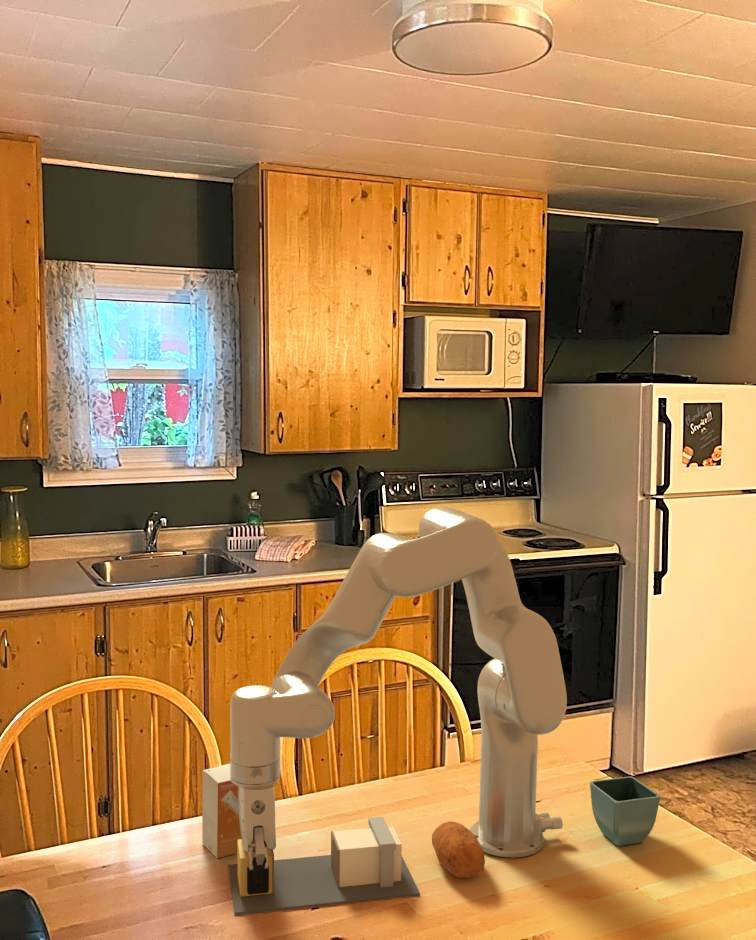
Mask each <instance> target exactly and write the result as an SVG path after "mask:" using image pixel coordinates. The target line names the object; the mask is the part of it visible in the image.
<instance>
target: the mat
mask: <svg viewBox="0 0 756 940" xmlns="http://www.w3.org/2000/svg"><path fill="white" fill-rule="evenodd" d="M228 875H229V880H230V889H231V897H232V904H233V907H232V908H233V913H234V916H242V915H248V914H251V915H252V914H258V913H270V912H278V911H288V910H297V909H305V908H307V909H308V908H315V907H324V906H325V907H327V906H334V905H343V904H353V903H362V902H373V901H381V900H391V899H400V898H408V897H420V896H421V893H420V890H419V888H418V886H417V884H416V882H415V880H414V878H413V875H412V874H411V871H410V870H409V867H408V865H407V864H406V861H405V860H404V857H403V854H401V881H394V886H390V887H381V886H380V884H379V883H374V884H365V885H355V886H345V887H337V884H336V881H335V878H334V875H333V872H332V869H331V854H326V855H325V854H324V855H317V856H316V855H315V856H306V857H305V856H304V857H295V858H284V859H274V894H272V893H271V894H261V895H251V896H241V897H240V890H239V884H238V877H237V863H233V864H232V863H231V864H228Z"/></svg>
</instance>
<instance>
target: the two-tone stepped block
mask: <svg viewBox="0 0 756 940" xmlns="http://www.w3.org/2000/svg"><path fill="white" fill-rule="evenodd" d="M367 822H368V823H367V824H368V826H369V828H367V827H366V828H357V829H356V828H355V829H347V830H346V829H344V830H331V831H330V838H331V839H330V855H331V869H332V872H333V875H334V878H335V881H336V884H337V887H345V886H355V885H365V884H374V883H379V884H380V886H381V887H390V886H394V881H401V855H402V848H403V847H402V842H401V840H400V838H399V836H398V834H397V832H396V830H395V828H394V826H393V825H390V826H388V824H387V822H386V820H385V818H384V816H377V817H376V816H375V817H368V821H367Z"/></svg>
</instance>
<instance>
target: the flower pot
mask: <svg viewBox="0 0 756 940" xmlns="http://www.w3.org/2000/svg"><path fill="white" fill-rule="evenodd" d="M589 787H590V789H589V790H590V799H591V802H590V803H591V809H592V813H593V818H594V821H595V822H596V824H597V826H598V828H599V830H600V832H601V834H602V835H604V836H605V838H607V839H608V840H609V841H611V842H612V843H613V844H614V845H616V846H618V847H621V846H626V845H634V844H641V843H642V842H644V841H645V840H646V839H647V837H648V836H649V835H650V834H651V832H652V830H653V828H654V826H655V823H656V819H657V815H658V810H659V805H660V800H661V795H659V793H656V792H655V791H654V790H653V789H651V788H650V787H648V786H646V785H645V784H643V783H642V782H641V781H639V779H637V778H635V777H634V776H631V775H630V776H623V777H615V778H607V779H606V778H605V779H598V780H591V781H589Z"/></svg>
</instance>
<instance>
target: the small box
mask: <svg viewBox="0 0 756 940" xmlns="http://www.w3.org/2000/svg"><path fill="white" fill-rule="evenodd" d="M201 803H202V808H201V809H202V811H201V812H202V814H201V815H202V816H201V817H202V819H201V821H202V823H201V827H202V832H201V833H202V845H204V847H205V848H206V849H207V850H208V851H209V852H210V853H211V854H212V855H213V856H214V857H215V858H216V859H221V858H224V857H226V856H230V855H234V854H237V839H242V837H241V831H240V823H239V811H238V786H237V785H235V784H233V783H232V782H231V780H230V763H226V764H221V765H218V766H215V767H211V768H207V769H205V768H204V769H203V770H202V802H201Z"/></svg>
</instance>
